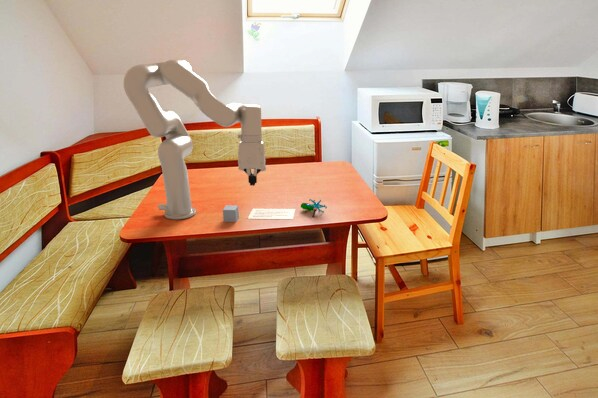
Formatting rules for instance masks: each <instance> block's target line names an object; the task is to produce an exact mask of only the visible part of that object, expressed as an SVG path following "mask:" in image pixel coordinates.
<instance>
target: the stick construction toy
mask: <svg viewBox="0 0 598 398" xmlns="http://www.w3.org/2000/svg"><path fill="white" fill-rule="evenodd" d="M308 201H309V202H312V203H313V204H310V203H307V202H303V203H301V204H300V208H301V209H303V210H304V214H307V212H312V215H311V217H312V218H314V217H315V215H316V212H317V211H318V212H321V213H323V214H324V212H325V210H322V208H325V209H327V208H328V206H327V205H326V204H324V205H323V204H320V203H321V202H322V199H320V200H319V201H317V202H316V200H315V199H311V198H309V200H308Z"/></svg>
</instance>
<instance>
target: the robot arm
mask: <svg viewBox="0 0 598 398" xmlns="http://www.w3.org/2000/svg"><path fill="white" fill-rule="evenodd" d="M167 85H170V86H172V88H175V89H176V90H177V91H179V92H181V93H182V94H183V95H185V96H186V97H187V98H189V99H190V100H191V101H193V103H194V105H195V106H196V107H197V108H198V109H199V110H200V111H201V113H202V114H203V115H204V116H206V117H207V118H209V119H210V120H211V121H213V122H214V123H216V124H217V125H219V126H221V127H224V128H228V127H229V128H230V127H232V126H234V125H236V124H239V123H240V131H241V133H240V134H237V139H239V140H241V141H239V142H238V150H237V151H238V153H237V154H238V155H237V164H238V168H237V169H238V170H239V171H242V172H244V173H245V174H246V175H247V176H248V177H247V178H248V184H249V186H252V187H254V186H255V185H256V184H257V182H258V177H257V176H258V174H259V173H260V172H265V171H266V170H267V166H266V163H267V160H266V159H267V158H266V150H265V149H266V148H265V144H264V141H263V140H262V134H263V133H262V109H261V106H260V105H258V104H244V103H243V104H242V103H238V102H237V103H236V102H230V103H228V104H225V103H223V102H222V101H221V100H219V99H218V98H217V97H215V95H213V94H212V93H211V91H210V90H209V89H210V88H209V85H208V83H207V81H205V80H204V79H203V78H202V77H201V76H199V75H198V74H196V73H195V72H193V68H192V66H191V65H190V63H189V62H187V61H186V60H184V59H182V58H181V59H180V58H177V59H168V60H166V61H164V62H155V63H142V64H137V65H133V66H131V67H130V68H129V69H128V70H127V72H126V73H125V75H124V78H123V88H124V89H123V90H124V92H125V94H126V96H127V98H128V99H129V101H130V102H131V104H132V106H133V107H134V109H135V110H136V113H137V114H138V117H139V118H140V120H141V121H142V123H143V126H144V127H145V128H146V130H147V131H148V133H149V134H150V136H152V137H154V138H156V139H159V138H163V137H165V139H164V140H163V141H161V142H160V144H159V146H158V148H157V157H158V159H159V162H160V163H159V164H160V166H161V171H162V177H163V183H164V192H165V198H166V203H165V204H164V203H159V204H157V207H158V210H159V211H164V217H165V218H166V219H168V220H176V221H177V220H184V219H189V218H191V217H193V216H194V215H196V213H197V210H196V208H195V207H194V206H192V199H191V198H192V197H191V189H190V182H189V174H188V169H187V167H188V166H187V165H186V162H185V158H186V157H188V156H189V155H190V154H191V153H193V152H192V151H193V149H194V143H193V139H192V138H191V136H190V134H189V132H188V131H187V129H186V127H185V125H184V124H183V122H182V120H181V118H180V116H179V115H178V114H177V113H175V112H174V111H172V110H170V109H162V107H161V106H160V104H159V102H158V101H157V98H156V97H155V96H154V95H153V94H152V93H151V92H150V90H149V89H150V88H154V87H160V86H167ZM252 170H253V171H252Z"/></svg>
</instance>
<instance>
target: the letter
mask: <svg viewBox="0 0 598 398" xmlns="http://www.w3.org/2000/svg"><path fill="white" fill-rule="evenodd" d="M295 211H296V208H252V210H251V211H250V213H249V215H248V217H247V220H294V216H295V213H296V212H295Z"/></svg>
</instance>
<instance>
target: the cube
mask: <svg viewBox="0 0 598 398" xmlns="http://www.w3.org/2000/svg"><path fill="white" fill-rule="evenodd" d="M239 213H240V210H239V205H229V204H228V205H225V206H224V208H223V209H222V218H223V222H224V223H225V222H227V223H228V222H231V223H232V222H235V223H236V222H237V221H238V219H239V218H240V214H239Z"/></svg>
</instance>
